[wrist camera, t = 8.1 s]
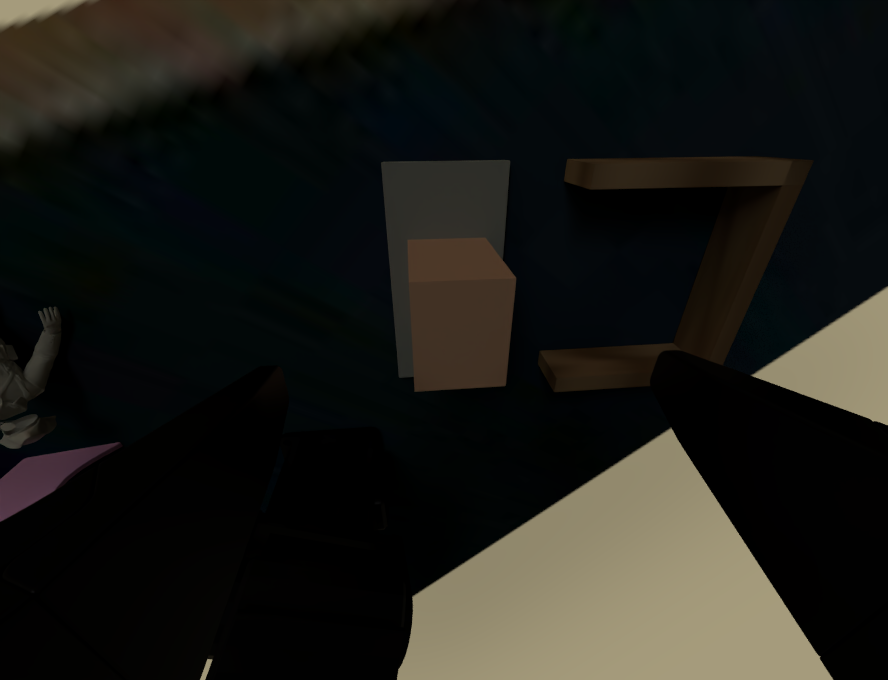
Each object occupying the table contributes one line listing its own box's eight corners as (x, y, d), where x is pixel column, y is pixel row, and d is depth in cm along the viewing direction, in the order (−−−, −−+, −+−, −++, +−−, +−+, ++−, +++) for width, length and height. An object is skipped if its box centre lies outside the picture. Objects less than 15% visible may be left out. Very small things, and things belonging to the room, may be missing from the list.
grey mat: (399, 372, 23) (399, 377, 23) (381, 161, 17) (381, 162, 17) (492, 366, 24) (494, 371, 23) (507, 159, 18) (510, 160, 17)
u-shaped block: (537, 363, 24) (554, 392, 21) (567, 159, 18) (594, 164, 15) (682, 355, 25) (715, 381, 22) (756, 156, 19) (813, 160, 16)
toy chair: (131, 433, 24) (-199, 800, 11) (196, 516, 28) (18, 847, 15) (3, 455, 24) (-489, 852, 11) (88, 535, 28) (-185, 884, 15)
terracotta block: (412, 327, 21) (414, 391, 16) (407, 239, 19) (408, 282, 13) (481, 324, 21) (505, 386, 16) (485, 237, 19) (516, 278, 14)
